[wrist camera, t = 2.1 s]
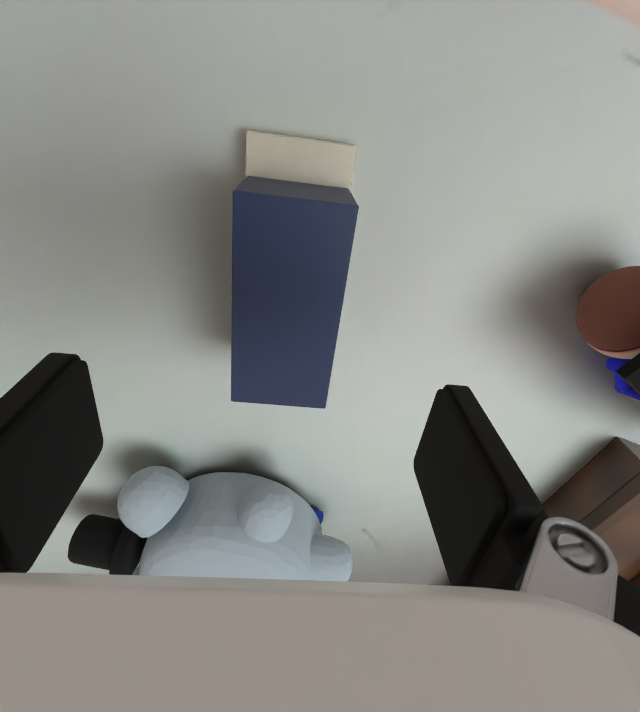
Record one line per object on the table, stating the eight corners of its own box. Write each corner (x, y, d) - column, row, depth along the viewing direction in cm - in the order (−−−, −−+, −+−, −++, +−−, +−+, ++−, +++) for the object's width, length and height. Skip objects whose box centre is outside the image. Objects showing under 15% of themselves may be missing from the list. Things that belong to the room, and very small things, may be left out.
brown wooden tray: (616, 436, 29) (657, 478, 26) (719, 476, 32) (769, 519, 29) (420, 615, 42) (430, 658, 39) (504, 632, 45) (521, 675, 42)
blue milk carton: (249, 130, 18) (230, 134, 14) (354, 144, 19) (370, 154, 14) (243, 349, 25) (228, 404, 20) (322, 356, 25) (326, 412, 20)
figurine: (372, 464, 30) (107, 407, 29) (377, 575, 22) (22, 503, 21) (322, 588, 38) (118, 547, 37) (315, 697, 31) (60, 650, 30)
